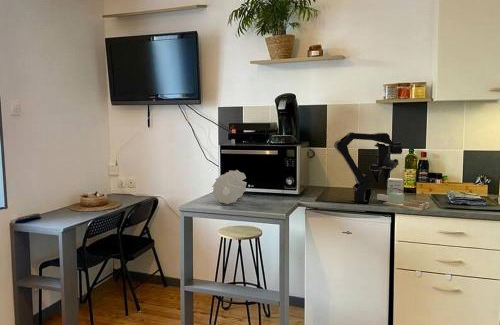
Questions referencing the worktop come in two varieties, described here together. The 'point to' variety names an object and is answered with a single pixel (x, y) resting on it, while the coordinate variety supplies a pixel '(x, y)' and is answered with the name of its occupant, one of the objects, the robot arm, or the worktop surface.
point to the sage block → (392, 197)
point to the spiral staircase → (229, 187)
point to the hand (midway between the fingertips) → (382, 181)
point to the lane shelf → (410, 205)
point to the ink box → (395, 185)
